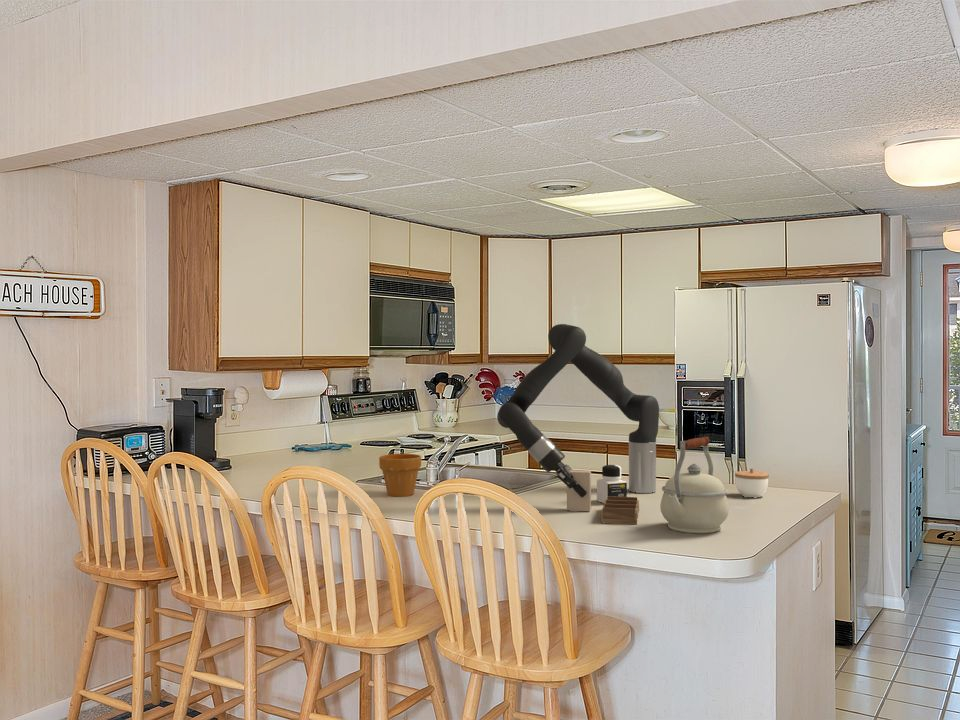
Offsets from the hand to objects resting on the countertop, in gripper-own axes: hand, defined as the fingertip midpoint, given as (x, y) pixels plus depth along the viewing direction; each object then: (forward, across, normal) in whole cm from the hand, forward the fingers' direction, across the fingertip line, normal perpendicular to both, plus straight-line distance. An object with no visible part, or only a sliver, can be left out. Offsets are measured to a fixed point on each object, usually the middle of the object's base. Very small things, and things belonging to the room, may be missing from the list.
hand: (585, 493), depth 262 cm
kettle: (+26, -20, -18) cm, 37 cm away
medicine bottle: (+9, +15, -1) cm, 17 cm away
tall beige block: (+2, 0, +5) cm, 5 cm away
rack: (+11, -7, -4) cm, 14 cm away
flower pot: (-41, +15, +49) cm, 66 cm away
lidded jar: (+41, +36, -33) cm, 64 cm away
